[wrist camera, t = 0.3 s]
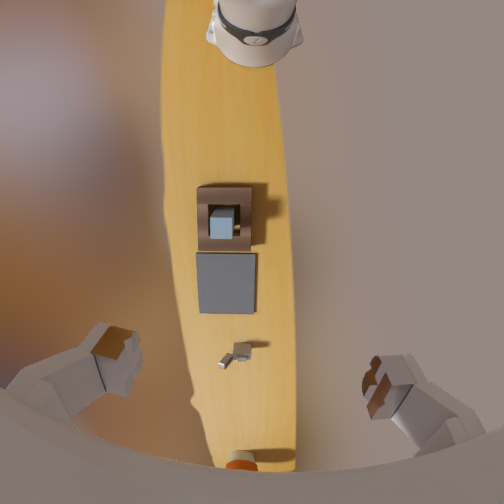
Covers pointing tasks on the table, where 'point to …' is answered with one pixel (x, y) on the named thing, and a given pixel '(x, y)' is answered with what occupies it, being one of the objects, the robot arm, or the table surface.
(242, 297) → the rubber mat
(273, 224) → the table surface
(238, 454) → the reusable coffee cup
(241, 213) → the pocket holder
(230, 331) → the table surface
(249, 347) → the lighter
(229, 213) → the peg
